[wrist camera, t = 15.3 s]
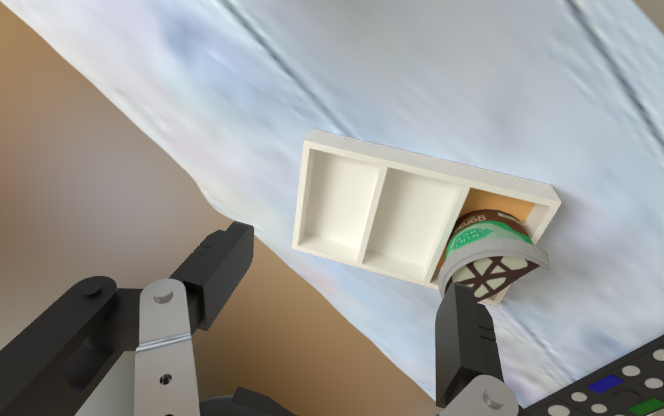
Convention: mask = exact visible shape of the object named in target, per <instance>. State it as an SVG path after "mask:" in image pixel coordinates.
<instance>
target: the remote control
mask: <svg viewBox="0 0 664 416" xmlns="http://www.w3.org/2000/svg"><path fill="white" fill-rule="evenodd" d="M663 408H664V335H662V336H660V337H658V338H657V339H655V340H653V341H651V342H649V343H647V344H645V345H643V346H642V347H640V348H638V349H636V350H634V351H632V352H630V353H628V354H627V355H625V356H623V357H621V358H619V359H617V360H615V361H613V362H612V363H610V364H608V365H606V366H604V367H602V368H600V369H598V370H597V371H595V372H593V373H591V374H589V375H587V376H585V377H583V378H582V379H580V380H578V381H576V382H574V383H572V384H570V385H568V386H567V387H565V388H563V389H561V390H559V391H557V392H555V393H553V394H551V395H550V396H548V397H546V398H544V399H542V400H540V401H538V402H536V403H535V404H533V405H531V406H529V407H527V408H525V410H526V411H528V412H529V413H531V414H532V415H534V416H646V415H649V414H651V413H654V412H656V411H659V410H661V409H663Z"/></svg>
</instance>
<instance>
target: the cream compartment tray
mask: <svg viewBox="0 0 664 416" xmlns="http://www.w3.org/2000/svg"><path fill="white" fill-rule="evenodd" d="M561 203H562V202H561V200H560V198H559V197H558V195H557V193H556V192H555V190H554V189H553V187H552V185H549V184H545V183H541V182H536V181H532V180H528V179H524V178H519V177H515V176H511V175H507V174H503V173H498V172H494V171H490V170H486V169H481V168H477V167H473V166H469V165H464V164H460V163H456V162H452V161H447V160H443V159H439V158H435V157H431V156H426V155H422V154H418V153H414V152H409V151H405V150H401V149H397V148H392V147H388V146H384V145H380V144H376V143H371V142H367V141H363V140H359V139H354V138H350V137H346V136H342V135H337V134H333V133H329V132H325V131H320V130H316V129H313V130H312V131H311V132H310V134H309V135H308V136H307V137H306V138H305V139H304V143H303V152H302V161H301V170H300V179H299V188H298V197H297V206H296V215H295V224H294V233H293V242H292V249H294V250H298V251H301V252H305V253H309V254H312V255H316V256H319V257H323V258H326V259H330V260H333V261H337V262H340V263H344V264H348V265H351V266H355V267H358V268H362V269H365V270H369V271H372V272H376V273H380V274H383V275H387V276H390V277H394V278H397V279H401V280H404V281H408V282H412V283H415V284H419V285H422V286H426V287H429V288H433V289H436V290H439V286H438V275H439V272H440V269H441V267H442V265H443V264H444V262H445V261H446V251H447V241H448V239H449V236H450V234H451V232H452V229H453V227H454V225H455V222H456V220H457V219H458V218H460V217H461V216H463V215H465V214H467V213H469V212H471V211H476V210H482V209H493V210H500V211H503V212H506V213H509V214H511V215H513V216H514V217H516V218H517V219H518V220H519V221H520V223H521V225H522V226H523V228H524V229H525V231H526V233H527V234H528V236H529V237H530V239H531V241H532V242H533V244H534V246H535V245H536V244H537V242H538V241H539V239H540V237H541V236H542V234H543V232H544V231H545V229H546V228H547V226H548V224H549V223H550V221H551V219H552V218H553V216H554V215H555V213H556V211H557V210H558V208H559V206H560V205H561ZM511 284H512V283H511ZM511 284H510V285H509V286H507V287H506V288H505V289H503V290H502V291H500V292H499V293H497V294H495V295H493V296H491V297H489V298H487V299H484V300H482V301H479V302H483V303H486V304H490V305H493V306H497V307H498V305H499V304H500V302H501V300H502V299H503V297H504V296H505V294H506V292H507V291H508V289H509V287H510V286H511Z"/></svg>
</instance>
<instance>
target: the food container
mask: <svg viewBox="0 0 664 416" xmlns="http://www.w3.org/2000/svg"><path fill="white" fill-rule="evenodd" d="M548 264H549V261H548V254H547V253H546V252H545V251H543V250H542V249H540V248H538V247H536V246H534V244H533V242H532V241H531V239H530V237H529V236H528V234H527V233H526V231H525V229H524V228H523V226H522V225H521V223H520V221H519V220H518V219H517V218H516V217H514V216H513V215H511V214H509V213H506V212H503V211H500V210H493V209H482V210H476V211H471V212H469V213H467V214H465V215H463V216H461V217H460V218H458V219H457V220H456V222H455V225H454V227H453V229H452V232H451V234H450V236H449V239H448V241H447V251H446V261H445V262H444V264H443V265H442V267H441V269H440V272H439V275H438V286H439V291H440V294H441V297H442V300H443V298H444V296H445V294H446V292H447V290H448V288H449V286H450V284H451V283H452V282H455V283H459V284H462V285H466V286H469V287H472V288H473V289H474V295H475V303H477V302H479V301H482V300H484V299H487V298H489V297H491V296H493V295H495V294H497V293H499V292H500V291H502V290H503V289H505V288H506V287H507V286H509V285H510V284H511V283H513V282H514V281H515V280H517V279H518V278H520V277H522V276H523V275H525V274H527V273H528V272H530V271H532V270H534V269H535V268H537V267H539V266H542V267H544V268H545V269H547V270H548V267H547V265H548Z"/></svg>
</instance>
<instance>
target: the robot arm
mask: <svg viewBox="0 0 664 416" xmlns="http://www.w3.org/2000/svg"><path fill="white" fill-rule="evenodd" d="M253 241H254V227H253V226H252V225H248V224H244V223H241V222H237V221H234V222H233V223H232V224H231V225H230V227H229V228H228V229H227V230H226V231H222V230H218V231H216V232H214V233H212V234H210V235H208V236H207V237H206V238H205V239H204V240H203V241H202V243H201V244H200V246H198V247H197V248H196V249H195V250H194V252H193V253H191V255H190V256H189V257H188V258H187V259H186V260H185V261H184V262H183V263H182V264H181V265H180V266H179V268H178V269H177V270H176V271H175V272H174V273H173V274H172V275H171V277H169V278H168V279H161V280H157V281H154V282H152V283H150V284H149V285H148V286H146V287H145V288H144V289H123V288H120V289H119V288H117V285H116V283H115V281H114V280H113V279H111V278H109V277H105V276H94V277H90V278H86V279H84V280H82V281H80V282H78V283H77V284H75V285H73V286H72V287H71V288H70V289H69V290H68V291H67V292H65V294H63V295H62V296H61V297H60V298H59V299H58V300H57V301H55V302H54V303H53V304H52V305H51V306H50V307H49V308H48V309H47V310H45V311H44V312H43V313H42V314H41V315H40V316H39V317H38V318H37V319H35V320H34V321H33V322H32V323H31V324H30V325H29V326H28V327H26V328H25V329H24V330H23V331H22V332H21V333H20V334H19V335H17V336H16V337H15V338H14V339H13V340H12V341H11V342H10V343H9V344H7V345H6V346H5V347H4V348H3V349H2V350H1V351H0V416H74V415H75V414H76V412H77V411H78V410H79V409H80V408H81V406H82V405H83V404H84V402H85V401H86V400H87V398H88V397H89V396H90V395H91V393H92V392H93V391H94V390H95V388H96V387H97V386H98V384H99V383H100V382H101V381H102V379H103V378H104V377H105V375H106V374H107V372H108V371H109V370H110V369H111V367H112V366H113V365H114V364H115V362H116V361H117V360H118V359H119V357H120V356H121V355H122V353H123V352H124V351H136V356H135V398H134V416H297V415H294V414H293V413H291V412H290V411H288V410H287V409H285V408H284V407H282V406H281V405H279V404H278V403H277V402H275V401H274V400H272V399H271V398H269V397H268V396H265V395H262V394H259V393H257V392H254V391H250V390H248V389H245V388H242V387H238V388H237V390H236V392H235V394H234V396H219V397H215V398H211V399H208V400H205V401H203V402H201V403H199V397H198V389H197V380H196V372H195V364H194V355H193V347H192V338H191V337H192V335H193V334H194V332H195V331H196V329H197V328H198V329H201V330H205V331H208V329H209V328H210V326H211V324H212V323H213V321H214V320H215V318H216V317H217V315H218V314H219V312H220V311H221V309H222V308H223V306H224V305H225V303H226V302H227V300H228V299H229V297H230V296H231V294H232V293H233V291H234V290H235V288H236V287H237V285H238V283H239V282H240V281H241V279H242V278H243V276H244V275H245V273H246V272H247V270H248V269H249V267H250V265H251V262H252V258H253V246H254V244H253V243H254V242H253ZM435 348H436V406H438V407H441V408H444V410H443V411H442V412H441V413H440V414H439V415H438V414H436V415H435V416H534V415H532V414H531V413H529V412H528V411H526V410H525V409H523V408H522V407H521V406H520V405H519V404H518V402H517V399H516V397H515V395H514V394H513V392H512V391H511V390H510V388H509V387H508V386H507V385H506V384H504V380H503V375H502V369H501V364H500V358H499V353H498V348H497V343H496V337H495V332H494V326H493V320H492V317H491V315H490V314H489V312H488V310H487V309H486V307H485V305H482V304H479V303H475V295H474V289H473V288H472V287H469V286H466V285H462V284H459V283H455V282H452V283H451V284H450V286H449V288H448V290H447V292H446V294H445V296H444V298H443V300H442V302H441V304H440V306H439V309H438V311H437V315H436V321H435Z"/></svg>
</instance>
